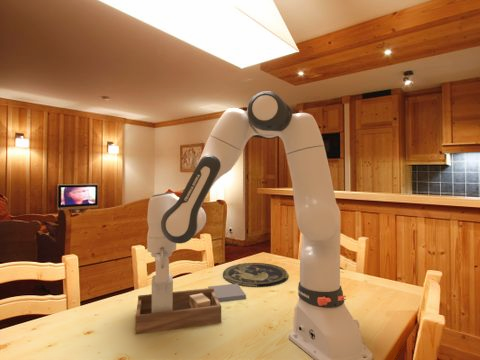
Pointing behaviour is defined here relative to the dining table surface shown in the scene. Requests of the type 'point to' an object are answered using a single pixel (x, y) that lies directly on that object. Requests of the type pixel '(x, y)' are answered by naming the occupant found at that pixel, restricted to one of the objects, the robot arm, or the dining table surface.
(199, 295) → the offcut upper
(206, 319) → the tray
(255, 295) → the dining table surface
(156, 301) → the small box
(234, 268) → the decorative plate
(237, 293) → the plate
